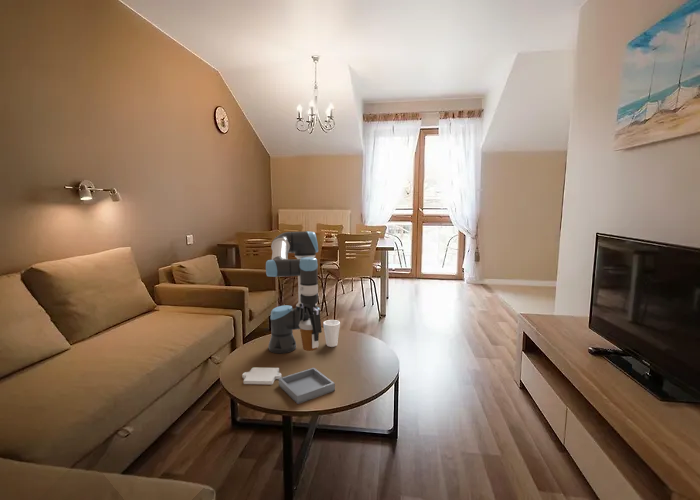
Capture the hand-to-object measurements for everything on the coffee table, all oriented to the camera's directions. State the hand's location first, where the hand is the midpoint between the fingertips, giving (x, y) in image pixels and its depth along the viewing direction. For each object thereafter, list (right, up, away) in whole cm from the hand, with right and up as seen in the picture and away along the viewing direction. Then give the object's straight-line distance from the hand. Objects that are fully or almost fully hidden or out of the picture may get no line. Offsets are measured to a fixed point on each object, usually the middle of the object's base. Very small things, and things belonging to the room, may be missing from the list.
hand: (310, 344), depth 158 cm
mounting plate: (-24, -19, +11) cm, 32 cm away
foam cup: (+7, -13, +48) cm, 51 cm away
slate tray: (-2, -20, +1) cm, 20 cm away
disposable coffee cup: (0, -2, 0) cm, 2 cm away
